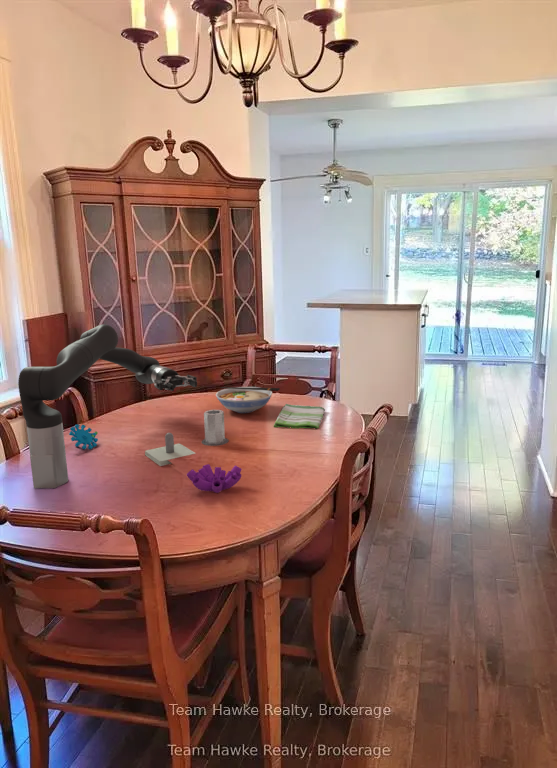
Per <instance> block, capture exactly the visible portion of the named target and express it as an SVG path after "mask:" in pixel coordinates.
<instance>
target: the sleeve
mask: <svg viewBox="0 0 557 768" xmlns="http://www.w3.org/2000/svg"><path fill="white" fill-rule="evenodd" d="M203 417H204V418H203V422H204V425H203V427H204V439H205V442H206V443H208V444H220V443H223V442H224V441H225V438H226V437H225V435H226V434H225V431H226V430H225V412H224V411H223V410H221V409H209V410H206V411H204V412H203Z"/></svg>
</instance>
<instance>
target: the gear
mask: <svg viewBox="0 0 557 768" xmlns="http://www.w3.org/2000/svg"><path fill="white" fill-rule="evenodd" d="M80 428H81V429H80ZM85 428H86V425H84V424H82V425H81V426H80V424H75V425H74V426H71V427H70V429H69V430H70V432H69V433H68V436H71V437H70V440H71V442H76V443H75V444H74V446H75V447H76V448H77V447H79V446H80V445H82V446H81V449H82V450H86V449H88V450H93V448H95V447H97V445H98V443H97V442H98V441H99V439H98V437H97V435H98V433H99V432H98V431H96V430H95V431H94V432H92V431H93V430H92V428H91V427H87V429H85ZM87 445H88V446H87Z"/></svg>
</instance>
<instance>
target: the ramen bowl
mask: <svg viewBox="0 0 557 768" xmlns="http://www.w3.org/2000/svg"><path fill="white" fill-rule="evenodd" d="M220 389H221V390H219V391H217V392H216V394H215V397H216V398H217V400H218V401H219V403H220V404H221V405H222V406H223V407H225V409H228V410H230V411H233V412H236V413H238V414H248V413H249V414H250V413H253V412H254V411H257V410H259V409H262V408H263V407H265V406H266V405H267V404H268V403H269V401H270V400H271V397H272V395H273V392H274V391H275V392H279V390H280V387H259V386H258V387H257V386H239V387H238V386H237V387H227V386H222V387H220Z"/></svg>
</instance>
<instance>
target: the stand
mask: <svg viewBox="0 0 557 768" xmlns="http://www.w3.org/2000/svg"><path fill="white" fill-rule="evenodd" d="M200 442H201V444H202V445H204V446H210V447H219V446H223V445H226V444H228V443H229V438H226V437H225V441H224V442H223V443H220V444H208V443H206V442H205V438H204V439H202V440H201V441H200Z"/></svg>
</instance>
